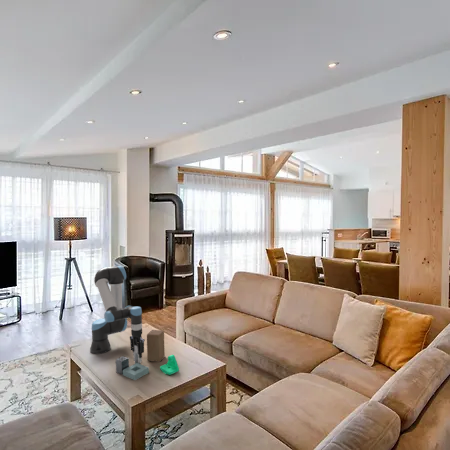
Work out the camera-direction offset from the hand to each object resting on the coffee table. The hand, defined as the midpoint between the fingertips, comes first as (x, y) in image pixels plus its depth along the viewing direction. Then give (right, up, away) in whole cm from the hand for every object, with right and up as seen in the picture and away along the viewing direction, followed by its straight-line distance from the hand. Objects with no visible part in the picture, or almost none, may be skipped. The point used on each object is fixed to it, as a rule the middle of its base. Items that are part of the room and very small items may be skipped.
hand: (137, 361), depth 231 cm
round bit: (0, -2, 0) cm, 2 cm away
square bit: (-7, -3, -11) cm, 13 cm away
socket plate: (+3, -3, -14) cm, 14 cm away
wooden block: (+12, -2, +8) cm, 14 cm away
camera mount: (+24, -3, -11) cm, 27 cm away
